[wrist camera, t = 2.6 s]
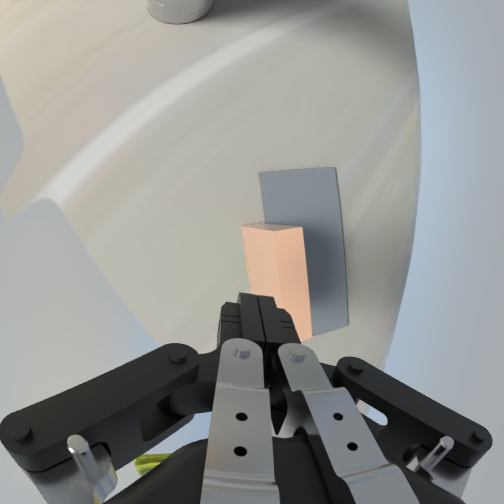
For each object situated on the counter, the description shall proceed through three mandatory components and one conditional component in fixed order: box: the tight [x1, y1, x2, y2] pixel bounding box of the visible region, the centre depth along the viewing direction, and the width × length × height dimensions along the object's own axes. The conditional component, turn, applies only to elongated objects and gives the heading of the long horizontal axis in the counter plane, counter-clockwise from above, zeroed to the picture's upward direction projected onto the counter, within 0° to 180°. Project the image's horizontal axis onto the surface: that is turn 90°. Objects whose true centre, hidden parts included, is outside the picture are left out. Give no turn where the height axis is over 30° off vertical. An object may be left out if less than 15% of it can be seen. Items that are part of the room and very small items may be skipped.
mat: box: [259, 167, 348, 336], centre depth 37 cm, size 22×10×1 cm, turn 8°
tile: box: [241, 223, 312, 342], centre depth 30 cm, size 10×3×12 cm, turn 8°
